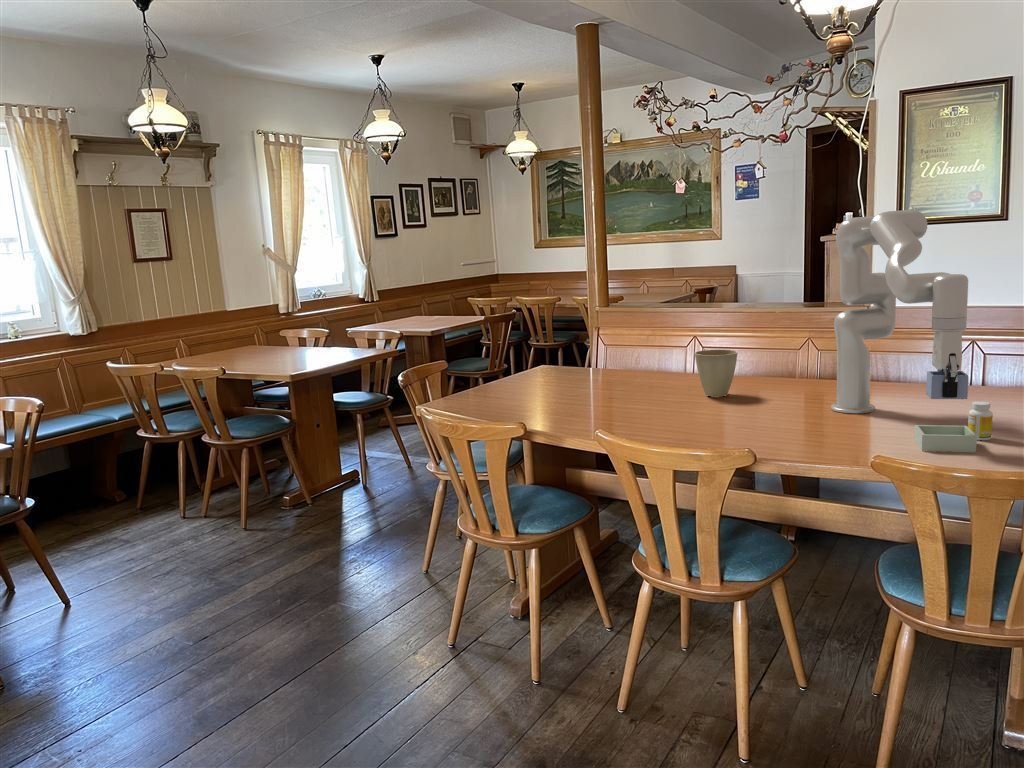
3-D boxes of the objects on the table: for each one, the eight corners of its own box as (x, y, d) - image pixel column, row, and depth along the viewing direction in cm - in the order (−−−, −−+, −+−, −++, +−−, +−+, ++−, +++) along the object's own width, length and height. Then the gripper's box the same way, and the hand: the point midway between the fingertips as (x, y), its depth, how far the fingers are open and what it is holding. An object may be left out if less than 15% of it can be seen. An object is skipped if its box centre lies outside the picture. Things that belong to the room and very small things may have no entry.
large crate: (914, 441, 197) (914, 425, 197) (965, 442, 194) (966, 425, 193) (921, 452, 188) (922, 435, 187) (975, 453, 184) (976, 435, 183)
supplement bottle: (965, 439, 195) (966, 403, 194) (969, 434, 199) (971, 399, 197) (988, 441, 192) (990, 405, 190) (993, 437, 195) (995, 401, 194)
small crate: (926, 394, 192) (926, 371, 191) (961, 394, 190) (962, 371, 189) (931, 399, 187) (931, 375, 186) (967, 399, 184) (968, 375, 183)
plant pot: (743, 398, 260) (742, 353, 258) (700, 401, 261) (699, 356, 258) (731, 390, 275) (731, 347, 272) (691, 392, 276) (690, 350, 273)
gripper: (925, 320, 194) (923, 388, 197) (939, 328, 178) (936, 401, 181) (957, 319, 192) (955, 387, 195) (975, 327, 176) (972, 401, 179)
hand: (946, 393), depth 188 cm, fingers closed on small crate, 6 cm apart
